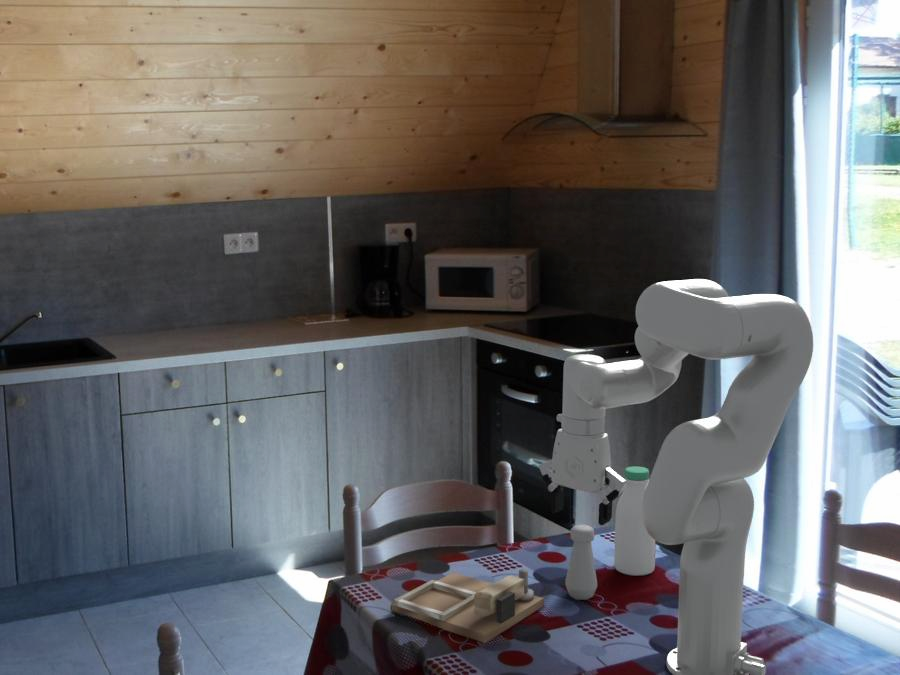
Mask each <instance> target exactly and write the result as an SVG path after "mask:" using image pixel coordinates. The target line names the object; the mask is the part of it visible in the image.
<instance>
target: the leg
mask: <svg viewBox="0 0 900 675" xmlns="http://www.w3.org/2000/svg"><path fill="white" fill-rule="evenodd" d="M492 584H493V585H491V586H489V587H487V588H485V589H483V590H481V591H479V592H478V593H476V594H475V595H474V613H475V614H476V615H478V616H489V615H491V614H493V613H494V612H496V611H497V599H498V598H500V597H502V596H503V595H505V594H507V593H508V592H513V593H515V600H517V599H519V598H520V597H522V596H524V579H522V578H519V576H516V575H515V576H514V575H511V574H510V575H508V576H505V577H504V578H501V579H500V580H498V581H497V582H494V583H492Z"/></svg>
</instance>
